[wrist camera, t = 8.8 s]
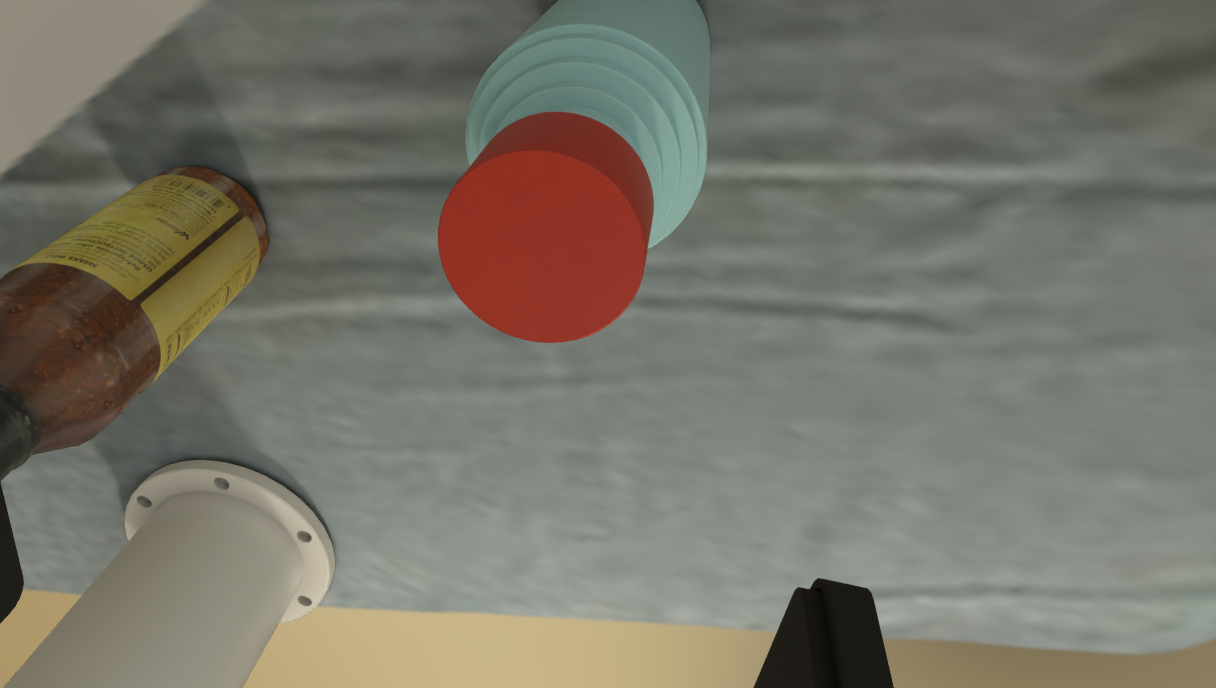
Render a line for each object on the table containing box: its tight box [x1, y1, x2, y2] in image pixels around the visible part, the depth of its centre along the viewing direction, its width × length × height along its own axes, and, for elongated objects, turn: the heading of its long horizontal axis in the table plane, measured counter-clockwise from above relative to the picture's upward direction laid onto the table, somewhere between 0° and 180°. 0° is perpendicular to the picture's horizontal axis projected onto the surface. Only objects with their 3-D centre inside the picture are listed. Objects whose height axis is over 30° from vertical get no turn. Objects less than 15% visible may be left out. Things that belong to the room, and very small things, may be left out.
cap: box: [438, 112, 654, 343], centre depth 18 cm, size 4×4×3 cm
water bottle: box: [465, 0, 710, 249], centre depth 26 cm, size 7×7×20 cm
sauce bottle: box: [0, 166, 269, 481], centre depth 32 cm, size 6×6×20 cm
